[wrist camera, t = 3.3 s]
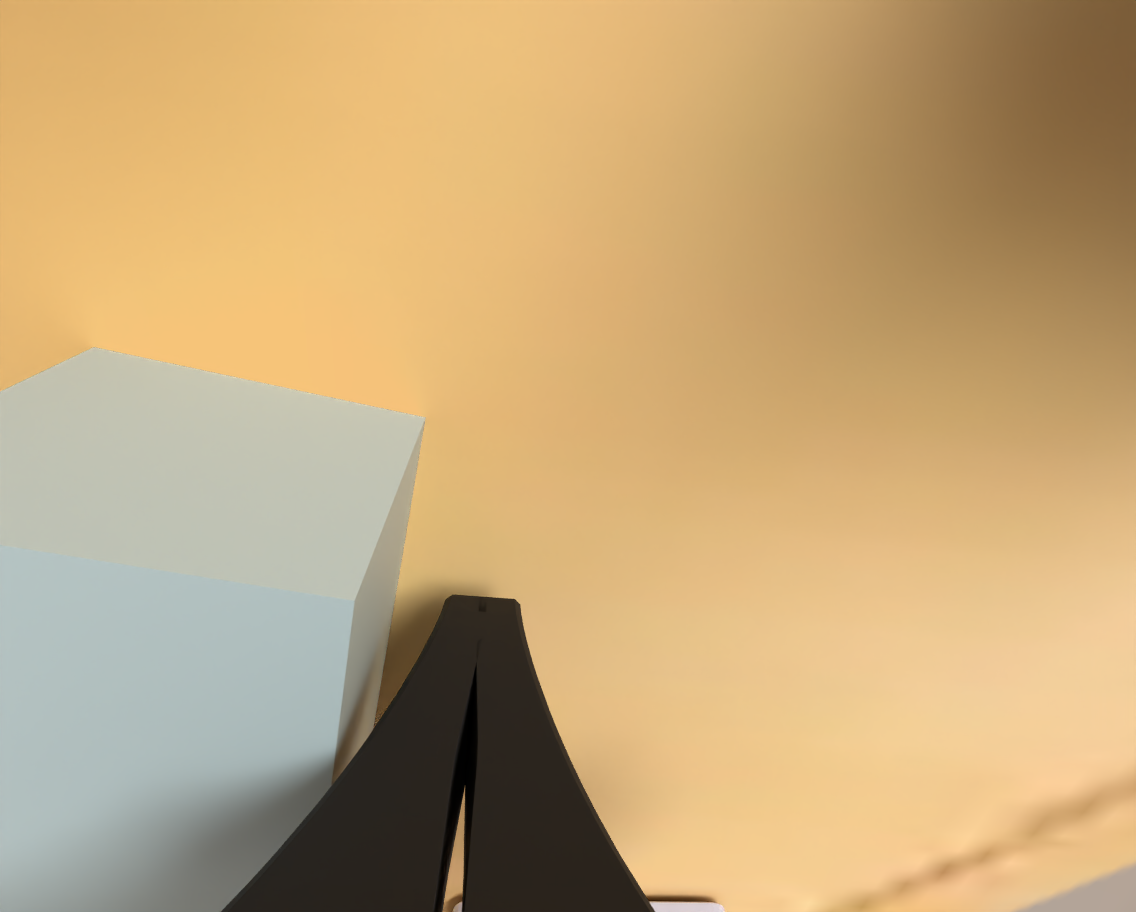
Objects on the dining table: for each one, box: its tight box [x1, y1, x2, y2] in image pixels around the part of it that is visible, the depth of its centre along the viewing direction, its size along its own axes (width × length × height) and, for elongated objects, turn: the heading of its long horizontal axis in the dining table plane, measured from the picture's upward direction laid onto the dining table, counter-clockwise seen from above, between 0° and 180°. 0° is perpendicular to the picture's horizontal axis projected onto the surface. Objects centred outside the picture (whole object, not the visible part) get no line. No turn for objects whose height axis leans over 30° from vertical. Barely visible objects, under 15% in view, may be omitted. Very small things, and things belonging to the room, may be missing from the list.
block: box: [0, 347, 425, 912], centre depth 9 cm, size 8×5×4 cm, turn 165°
